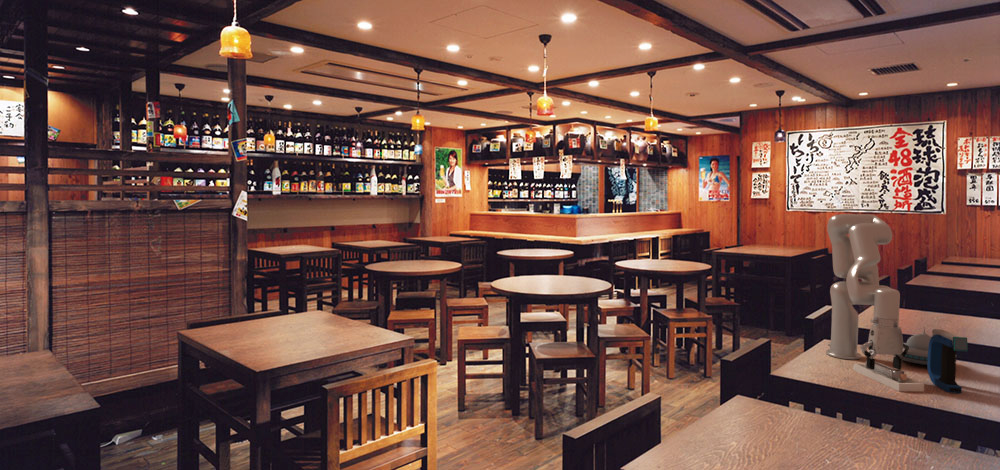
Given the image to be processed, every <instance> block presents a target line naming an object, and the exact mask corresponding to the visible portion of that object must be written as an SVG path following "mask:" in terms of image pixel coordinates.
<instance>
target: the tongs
mask: <svg viewBox="0 0 1000 470" xmlns="http://www.w3.org/2000/svg"><path fill="white" fill-rule="evenodd" d="M865 364H866V368H867V360H865ZM867 369H869V370H871V371H873V372H876V373H878V374H880V375H883V376H885V377H887V378H889V379H892V380H894V381H896V382H899V383H904V380H906V377H908V376H907V374H906V373H905V371H904V370H903V369H901V370H898V369H896V368H894V367H890V366H889V365H886V364H883V363H880V362H878V361H876V360H875V369H874V370H872V369H870V368H867Z"/></svg>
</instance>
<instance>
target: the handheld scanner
mask: <svg viewBox="0 0 1000 470" xmlns="http://www.w3.org/2000/svg"><path fill="white" fill-rule="evenodd" d="M931 333H932V335H931V339H930V342H929V347H928V361H927V365H926V366H927V373H928V377H929V379H930V381H931V382H932V384H933V385H934V386H936V387H937V388H939V389H941V390H942V391H945V392H946V393H948V394H950V393H952V394H962V386H961V385H959V384H958V383H957V380H956V374H957V373H956V371H957V366H956V365H957V363H956V362H955V359H956V358H955V356H956V355H957V352H968V337H965V336H962V337H961V336H958V335H956V334H954V333H951V332H948V331H946V330H944V329H937V328H933V330H932V331H931Z"/></svg>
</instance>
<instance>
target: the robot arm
mask: <svg viewBox="0 0 1000 470" xmlns="http://www.w3.org/2000/svg"><path fill="white" fill-rule="evenodd" d="M826 230H827V234H828V238H829V240H830V243H831V250H832V251H831V252H832V253H831V254H832V268H833V273H834V276H835V277H837V278H840V279H845V281H836V282H835V283H832V285H831V286H830V287H829V288H830V289H829V294H830V302H831V329H830V332H831V333H830V342H828V343H827V346H829V349H826V350H825V351H826V352H825V354H826V355H828V356H830V357H834V358H836V359H837V358H838V359H842V360H860V359H862V354H863V355H864V356H865V357H866V361H867V368H870V369H872V370H874V369H875V361H876V359H875V357H876V356H877V355H887V356H888V355H889V356H891V355H892V356H893V357H892V368H893V369H897V370H902V362H903V360H902V359H903V358H904V356H905V355H906V354H907V351H908V350H909V346H907V345H905V344H903V343H904V338H903V331H902V328H901V326H899V325H900V324H899V322H900V304H901V303H900V301H901V294H900V291H899V290H898V289H894V288H891V287H889V286H888V285H882V284H881V285H880V278H879V277H880V276H879V267H878V264H879V263H880V261H881V259H882V258H881V253H880V251H879V246H878V245H888V244H890V243H891V242H892V240H893V231H892V229H891V227H890V226H889V224H888V223H886V222H885V221H884V220H882V219H881V218H880V217H879V216H877V215H875V214H869V213H865V214H864V213H860V214H859V213H840V214H834V215H832V216H831V217H829V218H828V221H827V229H826ZM859 280H861V281H859ZM853 305H854V306H856V305H860V306H861V305H862V306H863V305H865V306H873V318H872V319H870V323H871V324H872V325H871V326H870V330H869V334H868V341H866V342H864V343H863V344H861V345H860V346H859V348H860V349H861V352H862V354H861V353H858V343H859V342H858V340H859V337H858V336H859V321H860V320H859V319H860V317H859V313H858V311H857V310H856V309H855V307H854V306H853ZM894 355H895V356H894Z"/></svg>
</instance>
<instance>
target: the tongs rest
mask: <svg viewBox="0 0 1000 470" xmlns="http://www.w3.org/2000/svg"><path fill="white" fill-rule="evenodd" d="M852 368H853V371H854V372H856V373H859V374H860V375H863V376H865V377H867V378H869V379H872V380H873V381H875V382H878V383H880V384H882V385H884V386H887V387H889V388H891V389H893V390H895V391H896V392H924V391H925V383H923V382H920V381H918V380H916V379H913V378H912V377H908V376H907V377H906V380H904V383H899V382H896V381H894V380H892V379H889V378H887V377H885V376H883V375H880V374H878V373H876V372H873V371H871V370H869V369H867V368H866V363H853V366H852Z"/></svg>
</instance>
